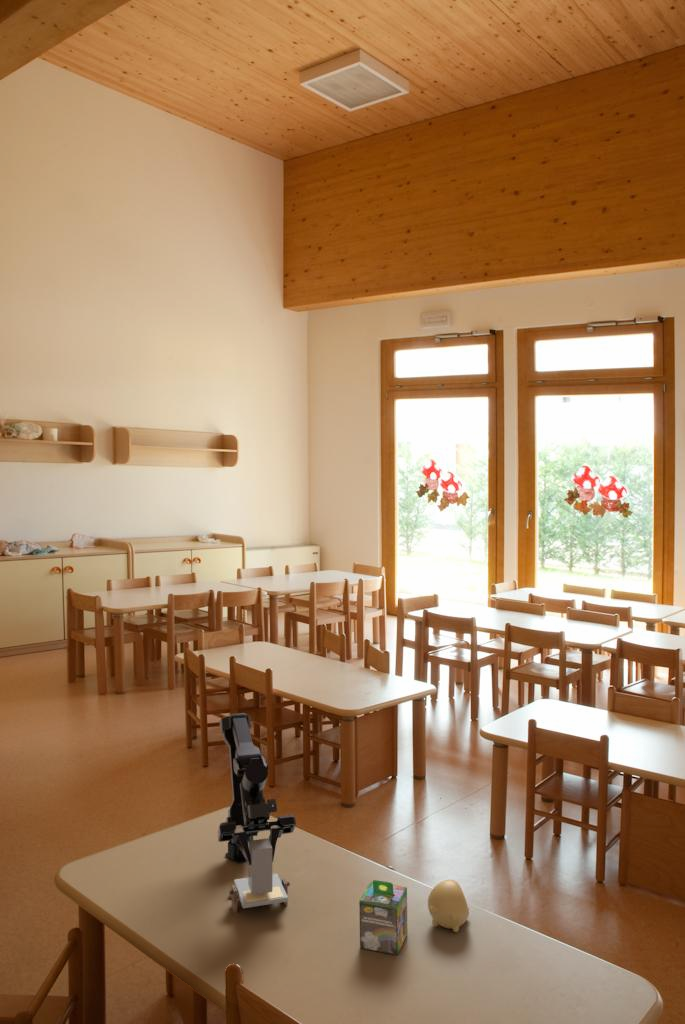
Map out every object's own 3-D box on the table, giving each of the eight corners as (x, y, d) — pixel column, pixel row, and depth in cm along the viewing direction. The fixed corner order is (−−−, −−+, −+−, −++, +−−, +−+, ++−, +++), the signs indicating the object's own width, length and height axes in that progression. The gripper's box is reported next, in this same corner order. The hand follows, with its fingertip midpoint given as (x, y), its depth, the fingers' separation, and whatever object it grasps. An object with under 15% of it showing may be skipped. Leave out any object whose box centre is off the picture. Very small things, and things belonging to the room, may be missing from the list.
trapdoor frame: (225, 896, 211) (225, 875, 211) (283, 888, 216) (283, 867, 215) (230, 913, 204) (230, 891, 203) (290, 904, 208) (290, 882, 208)
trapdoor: (234, 895, 210) (234, 879, 210) (277, 888, 214) (277, 872, 213) (242, 920, 199) (242, 903, 199) (287, 913, 202) (287, 896, 202)
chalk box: (408, 934, 195) (408, 873, 194) (397, 956, 187) (398, 892, 186) (370, 927, 198) (370, 866, 197) (358, 948, 190) (358, 885, 189)
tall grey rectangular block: (248, 884, 205) (248, 840, 204) (268, 881, 207) (268, 838, 206) (251, 894, 200) (251, 850, 200) (272, 891, 202) (272, 847, 201)
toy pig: (468, 943, 198) (479, 899, 205) (459, 924, 190) (471, 878, 197) (429, 931, 202) (441, 888, 209) (418, 912, 194) (431, 868, 201)
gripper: (219, 791, 203) (225, 856, 193) (294, 783, 208) (304, 846, 198) (215, 809, 211) (221, 872, 201) (287, 800, 216) (297, 862, 206)
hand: (261, 863), depth 202 cm, fingers closed on tall grey rectangular block, 5 cm apart
